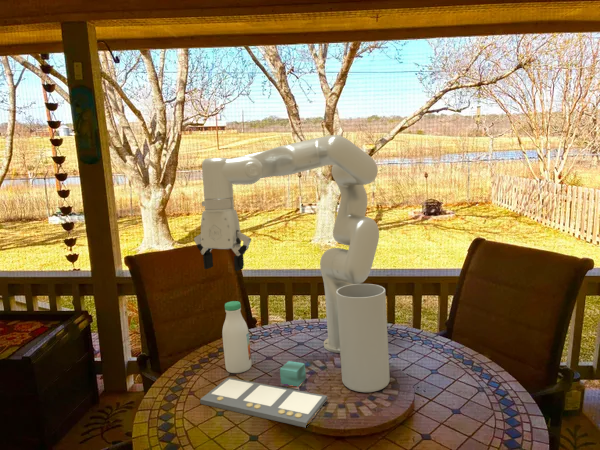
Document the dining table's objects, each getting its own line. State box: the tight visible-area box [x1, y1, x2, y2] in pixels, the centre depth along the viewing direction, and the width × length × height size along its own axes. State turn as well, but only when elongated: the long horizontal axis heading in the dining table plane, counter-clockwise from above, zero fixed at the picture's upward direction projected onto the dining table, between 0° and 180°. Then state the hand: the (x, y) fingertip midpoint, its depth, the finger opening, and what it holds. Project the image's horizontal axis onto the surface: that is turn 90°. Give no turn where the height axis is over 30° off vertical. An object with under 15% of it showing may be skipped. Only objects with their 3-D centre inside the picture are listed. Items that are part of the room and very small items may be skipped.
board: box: [199, 377, 328, 429], centre depth 109 cm, size 12×30×2 cm, turn 63°
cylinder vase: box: [336, 283, 391, 393], centre depth 114 cm, size 12×12×25 cm
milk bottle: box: [221, 300, 252, 374], centre depth 128 cm, size 8×8×20 cm
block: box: [279, 360, 307, 387], centre depth 117 cm, size 5×5×5 cm
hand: (223, 268), depth 116 cm, fingers open, 9 cm apart
